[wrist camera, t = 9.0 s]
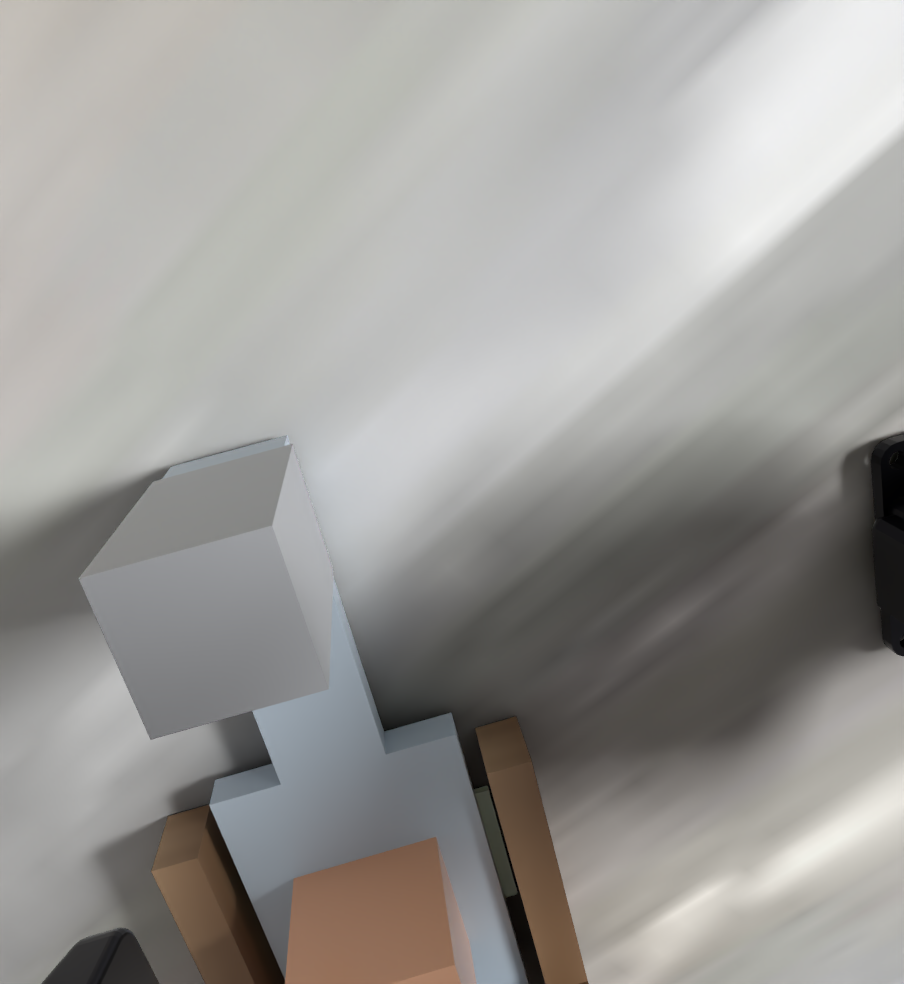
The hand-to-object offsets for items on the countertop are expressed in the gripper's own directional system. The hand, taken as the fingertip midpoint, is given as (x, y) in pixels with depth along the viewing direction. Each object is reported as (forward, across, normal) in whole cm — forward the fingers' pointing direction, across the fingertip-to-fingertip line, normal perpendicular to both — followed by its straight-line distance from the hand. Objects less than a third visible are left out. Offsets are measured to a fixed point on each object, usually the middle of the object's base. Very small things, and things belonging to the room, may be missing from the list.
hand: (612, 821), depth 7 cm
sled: (+13, +5, +8) cm, 16 cm away
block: (+12, +5, +12) cm, 18 cm away
